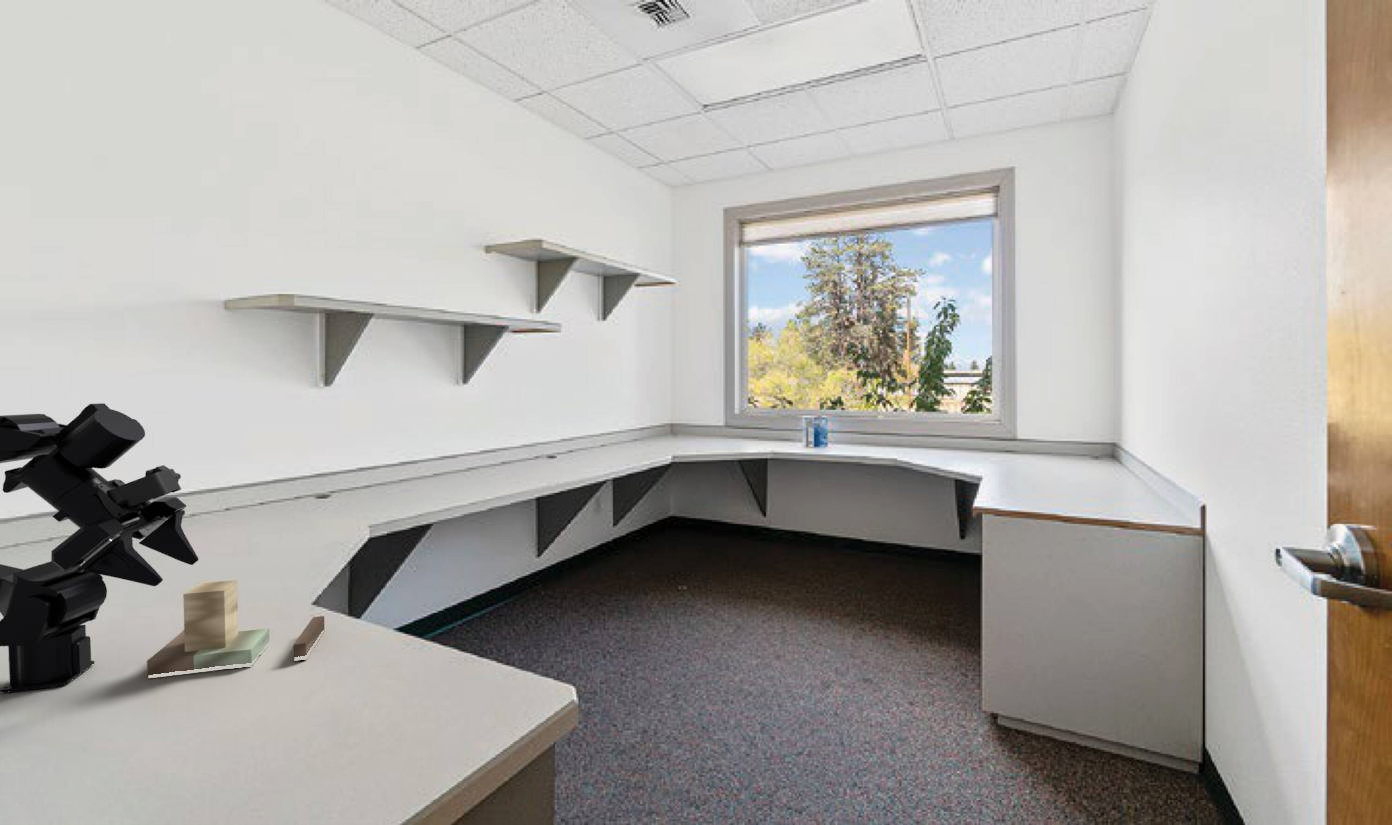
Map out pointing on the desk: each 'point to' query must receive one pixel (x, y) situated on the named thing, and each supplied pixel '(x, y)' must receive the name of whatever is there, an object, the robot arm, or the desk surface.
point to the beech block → (210, 615)
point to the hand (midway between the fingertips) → (178, 572)
